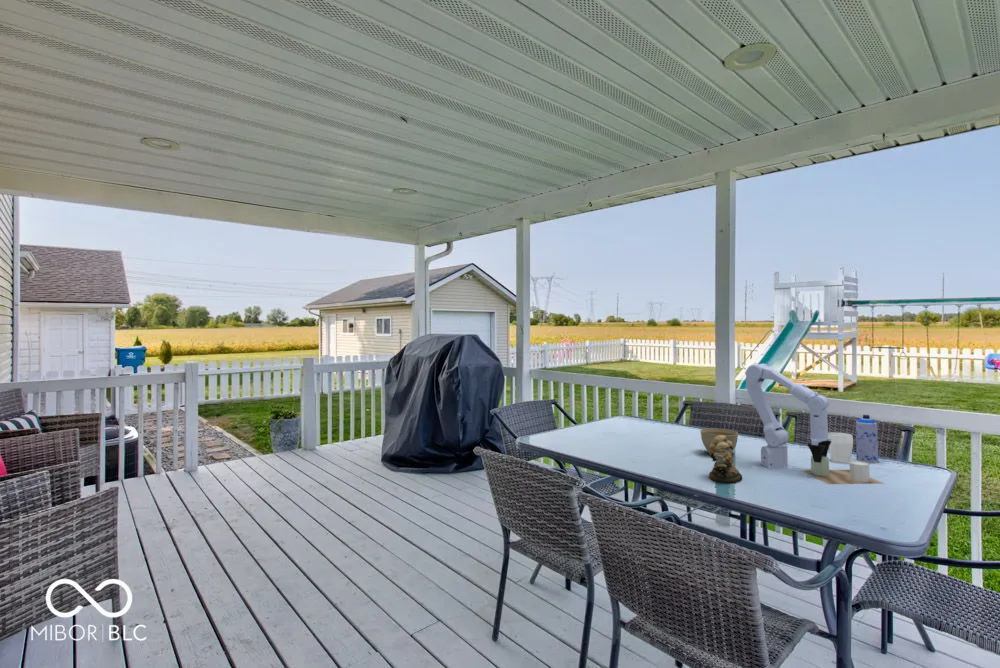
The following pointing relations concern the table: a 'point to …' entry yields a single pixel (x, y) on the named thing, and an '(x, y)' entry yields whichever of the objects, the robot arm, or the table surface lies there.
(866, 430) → the aerosol can
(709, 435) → the planter bowl
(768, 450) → the robot arm
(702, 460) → the table surface
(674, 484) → the table surface
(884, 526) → the table surface
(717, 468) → the owl figurine
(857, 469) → the white acorn nut
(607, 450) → the table surface
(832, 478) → the walnut board
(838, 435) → the cup
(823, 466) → the sage green acorn nut
